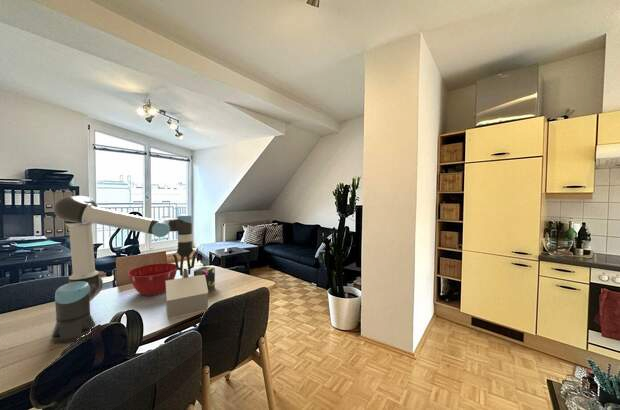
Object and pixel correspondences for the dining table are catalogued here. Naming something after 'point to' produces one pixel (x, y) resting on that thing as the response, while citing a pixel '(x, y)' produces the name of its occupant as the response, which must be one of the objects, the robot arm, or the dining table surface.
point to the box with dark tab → (186, 286)
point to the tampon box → (207, 276)
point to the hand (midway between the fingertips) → (185, 280)
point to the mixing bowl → (152, 278)
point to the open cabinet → (186, 305)
